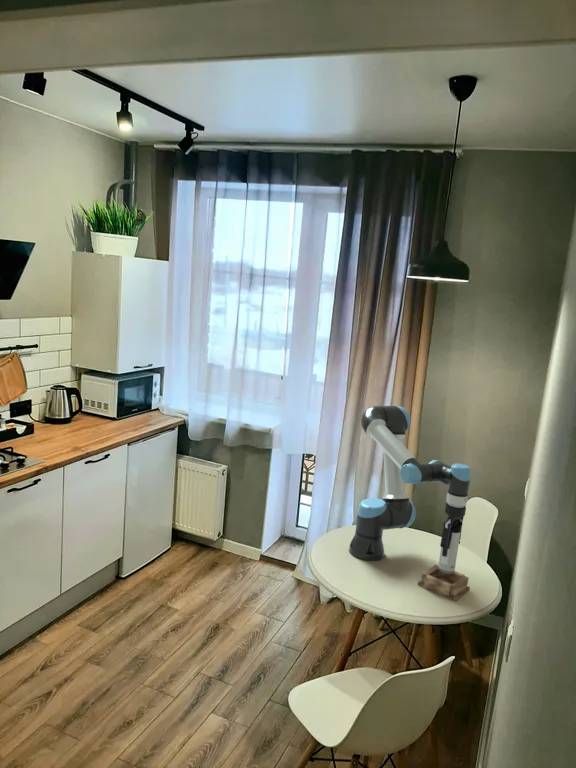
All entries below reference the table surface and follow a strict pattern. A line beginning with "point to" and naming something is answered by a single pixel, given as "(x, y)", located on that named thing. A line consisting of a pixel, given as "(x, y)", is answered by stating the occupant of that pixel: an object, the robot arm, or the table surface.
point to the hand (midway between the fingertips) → (447, 560)
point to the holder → (445, 583)
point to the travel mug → (451, 551)
